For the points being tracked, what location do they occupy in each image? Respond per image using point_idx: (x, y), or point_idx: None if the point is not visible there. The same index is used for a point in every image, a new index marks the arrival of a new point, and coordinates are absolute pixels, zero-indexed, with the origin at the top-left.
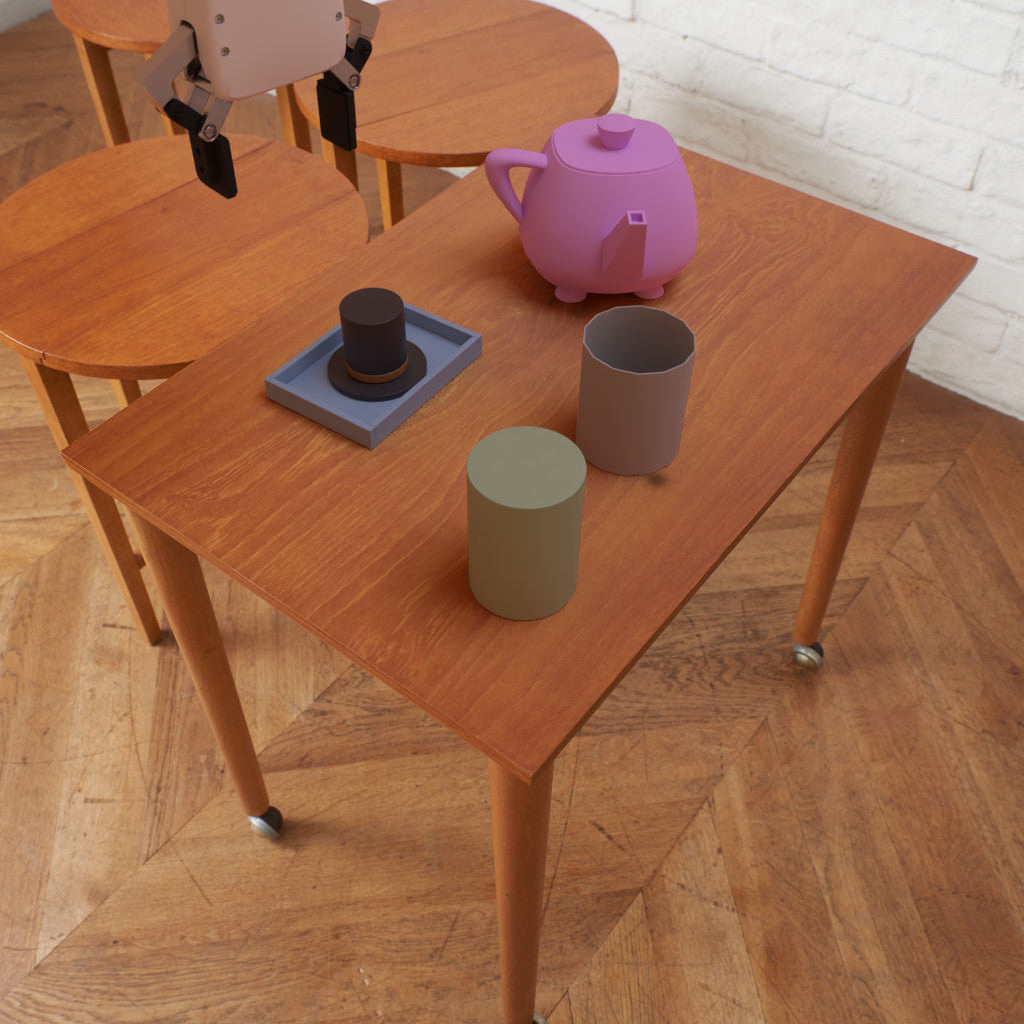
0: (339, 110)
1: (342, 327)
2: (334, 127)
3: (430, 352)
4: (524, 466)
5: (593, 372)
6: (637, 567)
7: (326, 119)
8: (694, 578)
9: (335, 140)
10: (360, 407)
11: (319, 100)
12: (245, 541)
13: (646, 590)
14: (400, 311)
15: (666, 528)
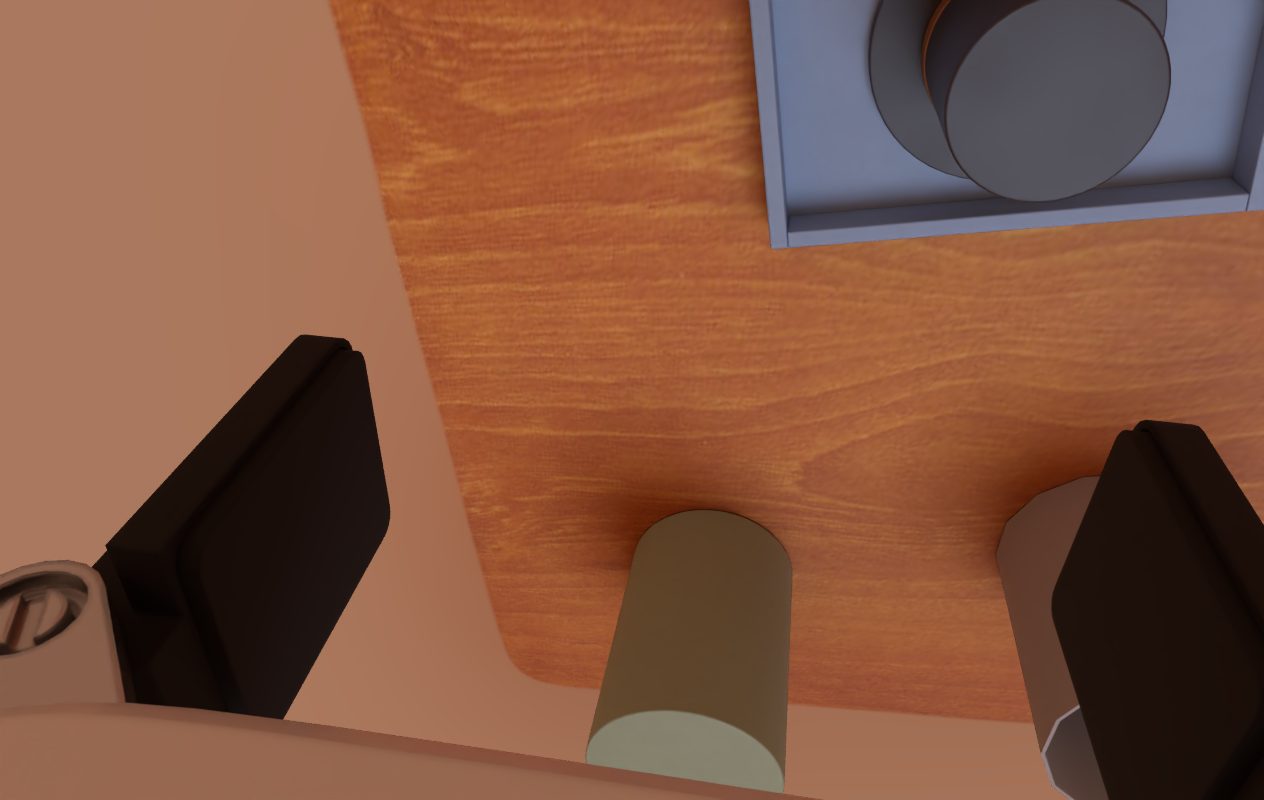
0: (1128, 758)
1: (953, 48)
2: (1106, 608)
3: None
4: (679, 774)
5: (1047, 691)
6: (835, 659)
7: (1139, 573)
8: (866, 709)
9: (1086, 546)
10: (856, 121)
11: (1203, 615)
12: (441, 222)
13: (807, 678)
14: (1075, 195)
15: (931, 660)
